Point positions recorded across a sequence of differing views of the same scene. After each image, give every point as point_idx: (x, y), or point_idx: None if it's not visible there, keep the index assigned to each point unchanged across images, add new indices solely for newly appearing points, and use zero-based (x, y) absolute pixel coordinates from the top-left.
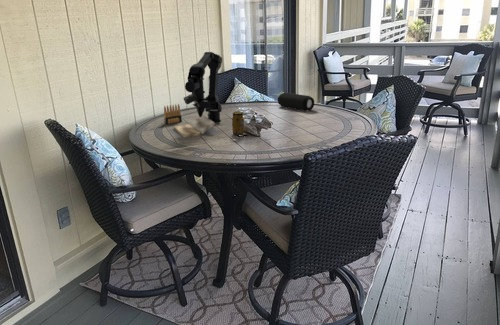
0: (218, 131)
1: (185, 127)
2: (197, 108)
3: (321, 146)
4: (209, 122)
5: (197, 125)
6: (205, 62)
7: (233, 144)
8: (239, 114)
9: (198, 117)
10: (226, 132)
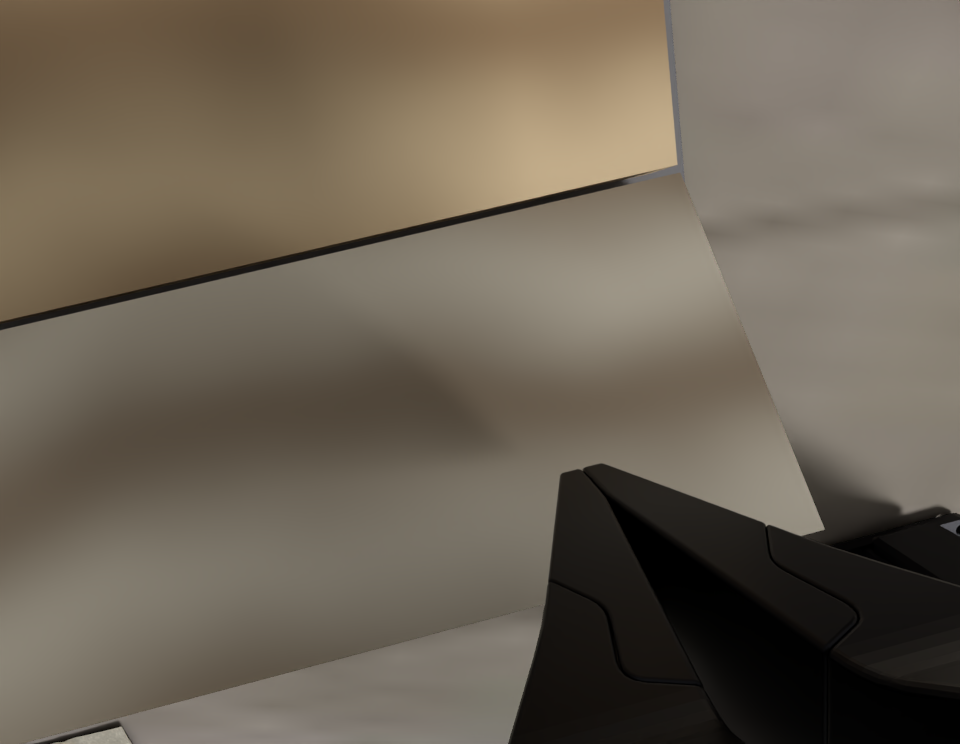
0: None
1: (430, 45)
2: (809, 667)
3: None
4: (34, 650)
5: (335, 334)
6: None
7: None
8: None
9: (764, 424)
10: (223, 693)
